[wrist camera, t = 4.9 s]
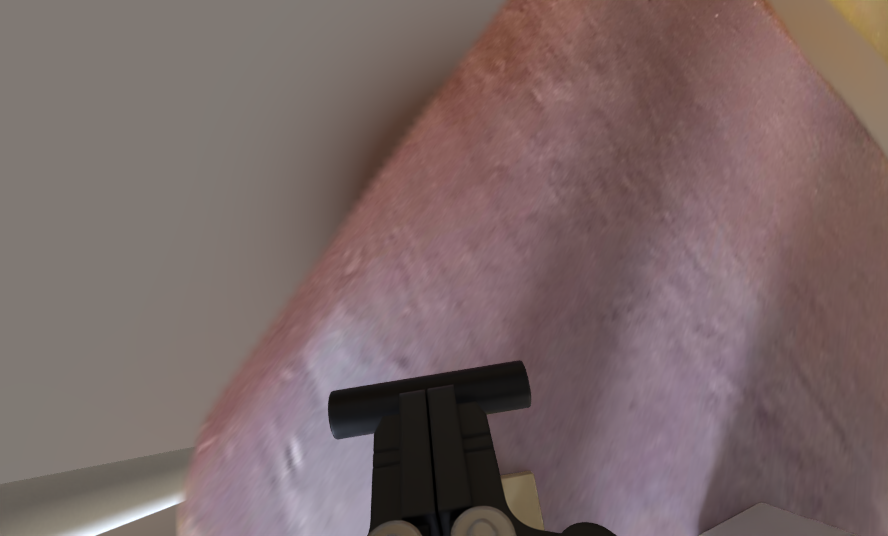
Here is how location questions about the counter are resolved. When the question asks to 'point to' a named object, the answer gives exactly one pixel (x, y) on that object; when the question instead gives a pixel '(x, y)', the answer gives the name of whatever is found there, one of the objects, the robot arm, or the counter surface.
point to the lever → (370, 403)
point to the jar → (773, 524)
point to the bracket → (523, 498)
